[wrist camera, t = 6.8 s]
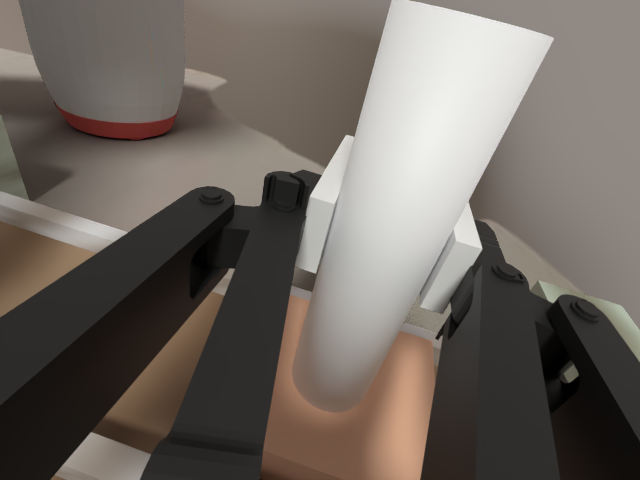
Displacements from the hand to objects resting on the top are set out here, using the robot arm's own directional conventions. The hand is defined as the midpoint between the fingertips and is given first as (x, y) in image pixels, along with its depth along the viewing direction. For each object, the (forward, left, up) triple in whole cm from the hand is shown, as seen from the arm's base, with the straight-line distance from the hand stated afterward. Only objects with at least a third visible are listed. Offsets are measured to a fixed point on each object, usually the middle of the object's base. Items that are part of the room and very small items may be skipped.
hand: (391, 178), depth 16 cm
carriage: (+4, -3, -10) cm, 12 cm away
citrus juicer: (-39, -11, -12) cm, 42 cm away
